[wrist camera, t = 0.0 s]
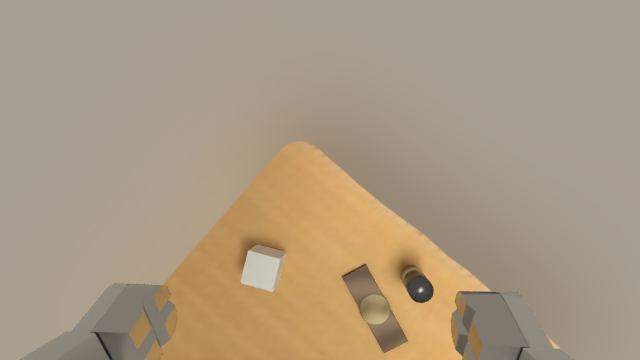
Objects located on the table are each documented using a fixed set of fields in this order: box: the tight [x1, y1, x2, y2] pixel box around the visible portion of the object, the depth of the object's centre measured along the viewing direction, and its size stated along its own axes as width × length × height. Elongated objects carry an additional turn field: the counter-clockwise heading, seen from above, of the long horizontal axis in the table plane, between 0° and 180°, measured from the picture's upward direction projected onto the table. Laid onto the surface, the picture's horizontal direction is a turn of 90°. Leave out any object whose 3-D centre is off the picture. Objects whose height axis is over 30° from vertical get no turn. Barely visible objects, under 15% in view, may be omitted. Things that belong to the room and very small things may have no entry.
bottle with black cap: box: [401, 266, 434, 303], centre depth 59 cm, size 4×4×8 cm
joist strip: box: [342, 264, 408, 353], centre depth 63 cm, size 16×6×1 cm, turn 29°
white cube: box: [240, 244, 286, 292], centre depth 62 cm, size 6×6×6 cm
